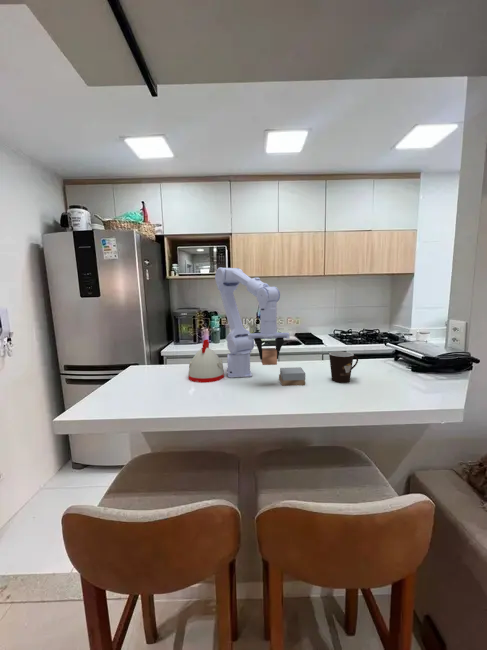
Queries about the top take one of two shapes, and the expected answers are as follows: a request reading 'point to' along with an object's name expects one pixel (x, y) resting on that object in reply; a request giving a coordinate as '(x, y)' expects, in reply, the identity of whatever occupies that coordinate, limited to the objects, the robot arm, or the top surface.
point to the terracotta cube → (269, 356)
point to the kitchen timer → (206, 366)
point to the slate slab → (292, 373)
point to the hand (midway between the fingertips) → (268, 358)
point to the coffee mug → (341, 366)
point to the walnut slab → (291, 382)
